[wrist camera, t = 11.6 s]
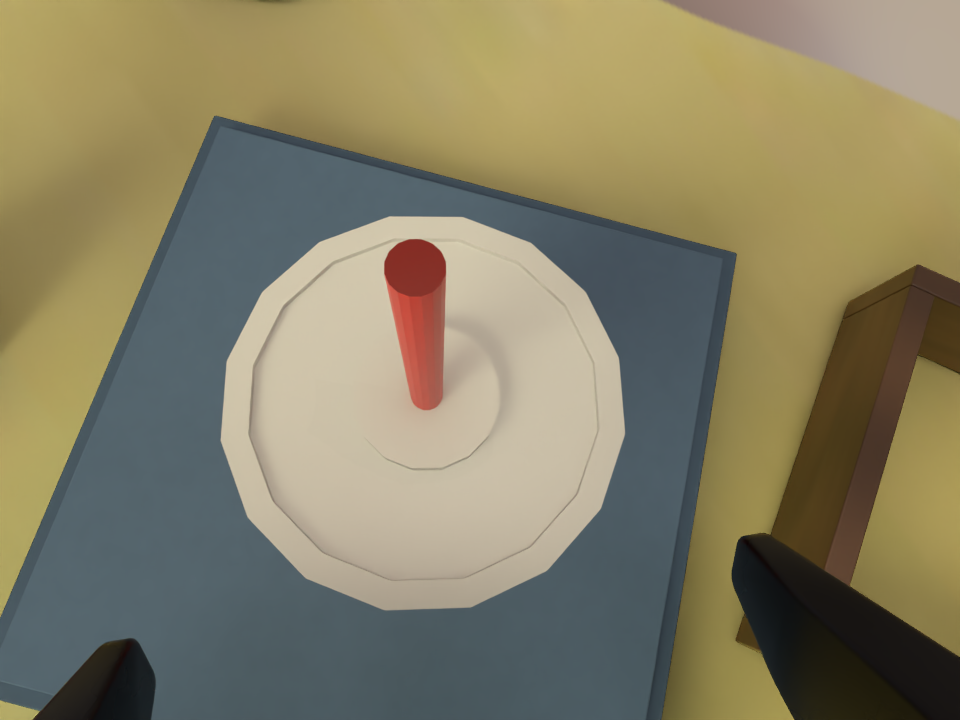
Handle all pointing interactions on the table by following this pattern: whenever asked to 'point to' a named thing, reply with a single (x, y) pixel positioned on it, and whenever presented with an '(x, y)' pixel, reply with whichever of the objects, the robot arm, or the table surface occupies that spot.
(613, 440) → the beverage cup
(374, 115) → the table surface
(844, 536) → the open box
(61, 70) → the table surface
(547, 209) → the blue square platform
